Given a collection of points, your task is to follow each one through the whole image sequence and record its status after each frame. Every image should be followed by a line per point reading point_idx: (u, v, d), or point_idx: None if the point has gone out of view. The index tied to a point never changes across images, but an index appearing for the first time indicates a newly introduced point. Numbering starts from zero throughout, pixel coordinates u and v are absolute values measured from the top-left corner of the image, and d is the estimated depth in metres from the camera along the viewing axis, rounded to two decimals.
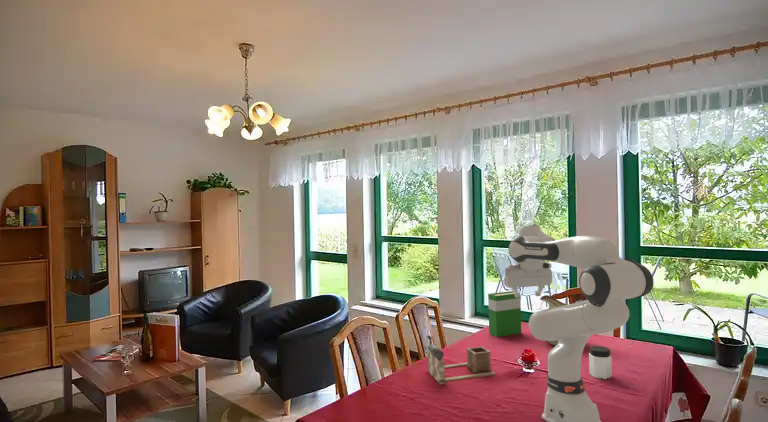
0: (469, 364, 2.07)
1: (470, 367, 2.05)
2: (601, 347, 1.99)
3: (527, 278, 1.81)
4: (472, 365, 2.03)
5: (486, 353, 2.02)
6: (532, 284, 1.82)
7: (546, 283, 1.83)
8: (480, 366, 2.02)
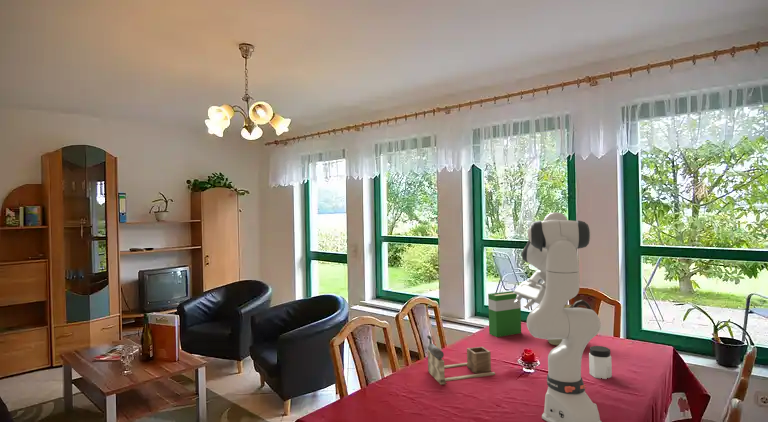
0: (469, 364, 2.07)
1: (470, 367, 2.05)
2: (601, 347, 1.99)
3: (526, 289, 2.10)
4: (472, 365, 2.03)
5: (486, 353, 2.02)
6: (526, 294, 2.07)
7: (534, 297, 2.01)
8: (480, 366, 2.02)
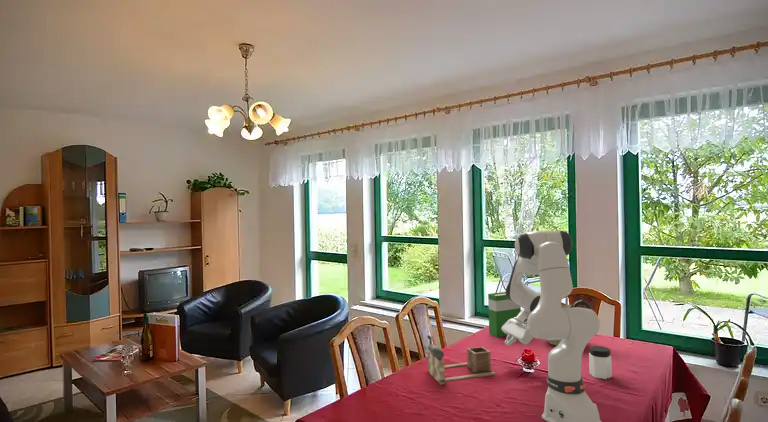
0: (469, 364, 2.07)
1: (470, 367, 2.05)
2: (601, 347, 1.99)
3: (513, 327, 2.12)
4: (472, 365, 2.03)
5: (486, 353, 2.02)
6: (512, 333, 2.09)
7: (519, 337, 2.03)
8: (480, 366, 2.02)
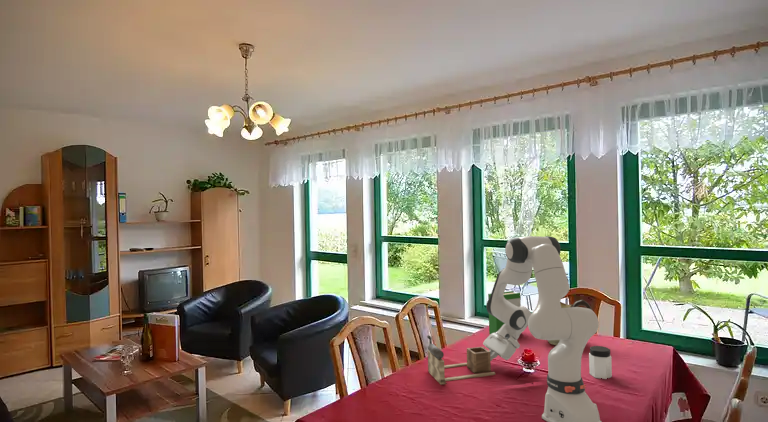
0: (468, 364, 2.07)
1: (470, 367, 2.05)
2: (601, 347, 1.99)
3: (494, 342, 2.09)
4: (472, 365, 2.03)
5: (486, 353, 2.02)
6: (493, 348, 2.07)
7: (500, 352, 2.00)
8: (480, 366, 2.02)
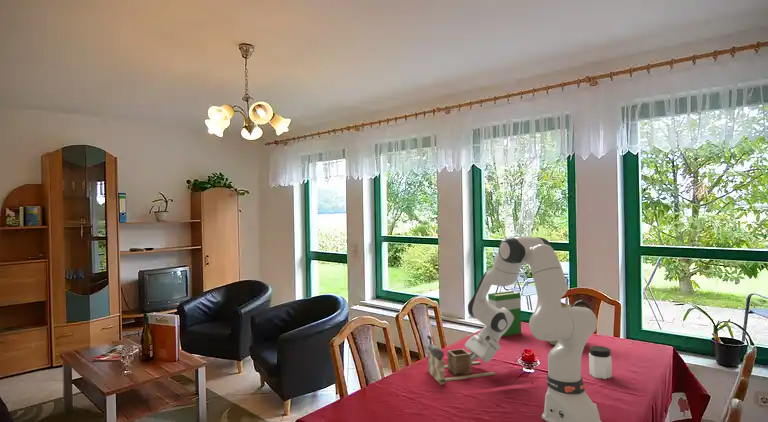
0: (449, 366, 2.05)
1: (450, 369, 2.03)
2: (601, 347, 1.99)
3: (475, 344, 2.07)
4: (452, 368, 2.01)
5: (466, 356, 2.00)
6: (474, 350, 2.04)
7: (480, 355, 1.98)
8: (460, 368, 1.99)
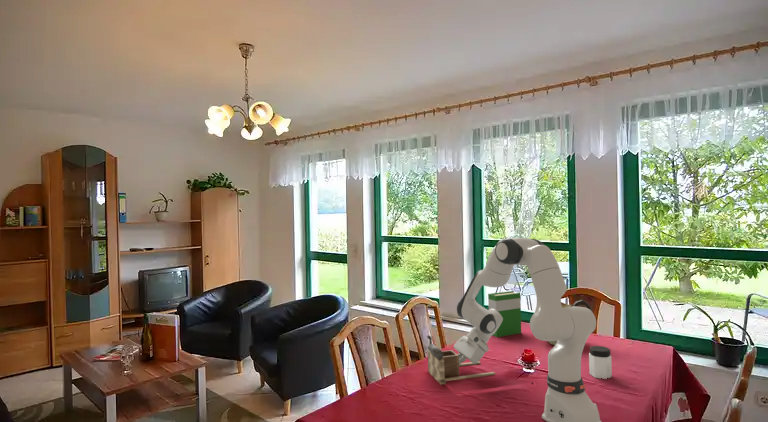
0: None
1: None
2: (601, 347, 1.99)
3: (464, 346, 2.06)
4: None
5: (455, 357, 1.99)
6: (462, 351, 2.03)
7: (468, 356, 1.97)
8: (448, 370, 1.98)
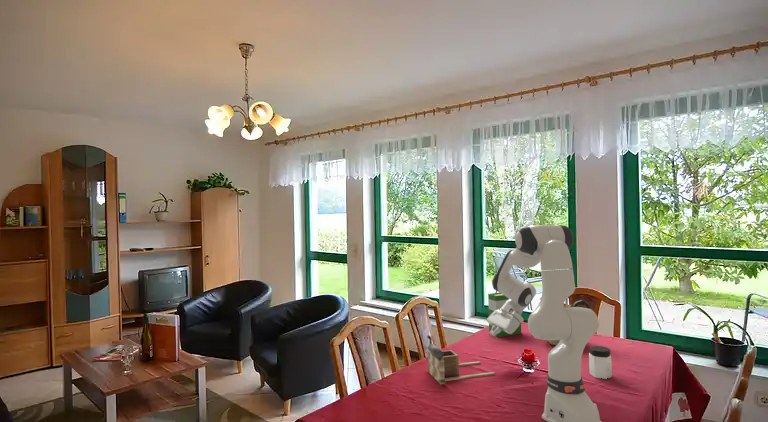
0: None
1: None
2: (601, 347, 1.99)
3: (498, 318, 2.10)
4: None
5: (454, 357, 1.99)
6: (497, 323, 2.07)
7: (504, 326, 2.01)
8: (448, 370, 1.98)
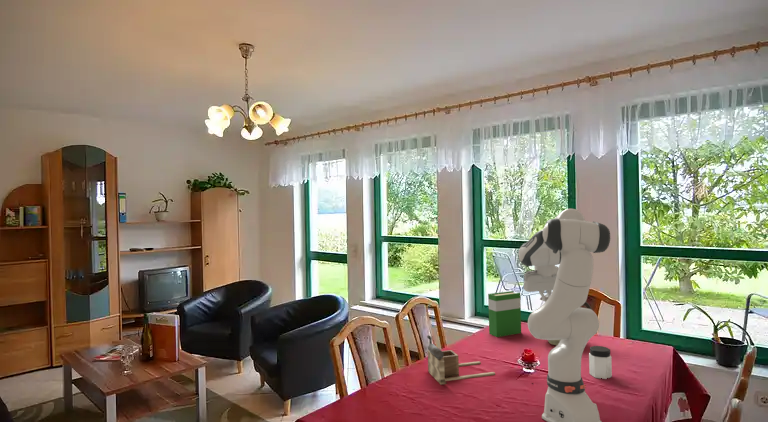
0: None
1: None
2: (601, 347, 1.99)
3: (544, 283, 2.01)
4: None
5: (454, 357, 1.99)
6: (549, 288, 2.01)
7: None
8: (448, 370, 1.98)
